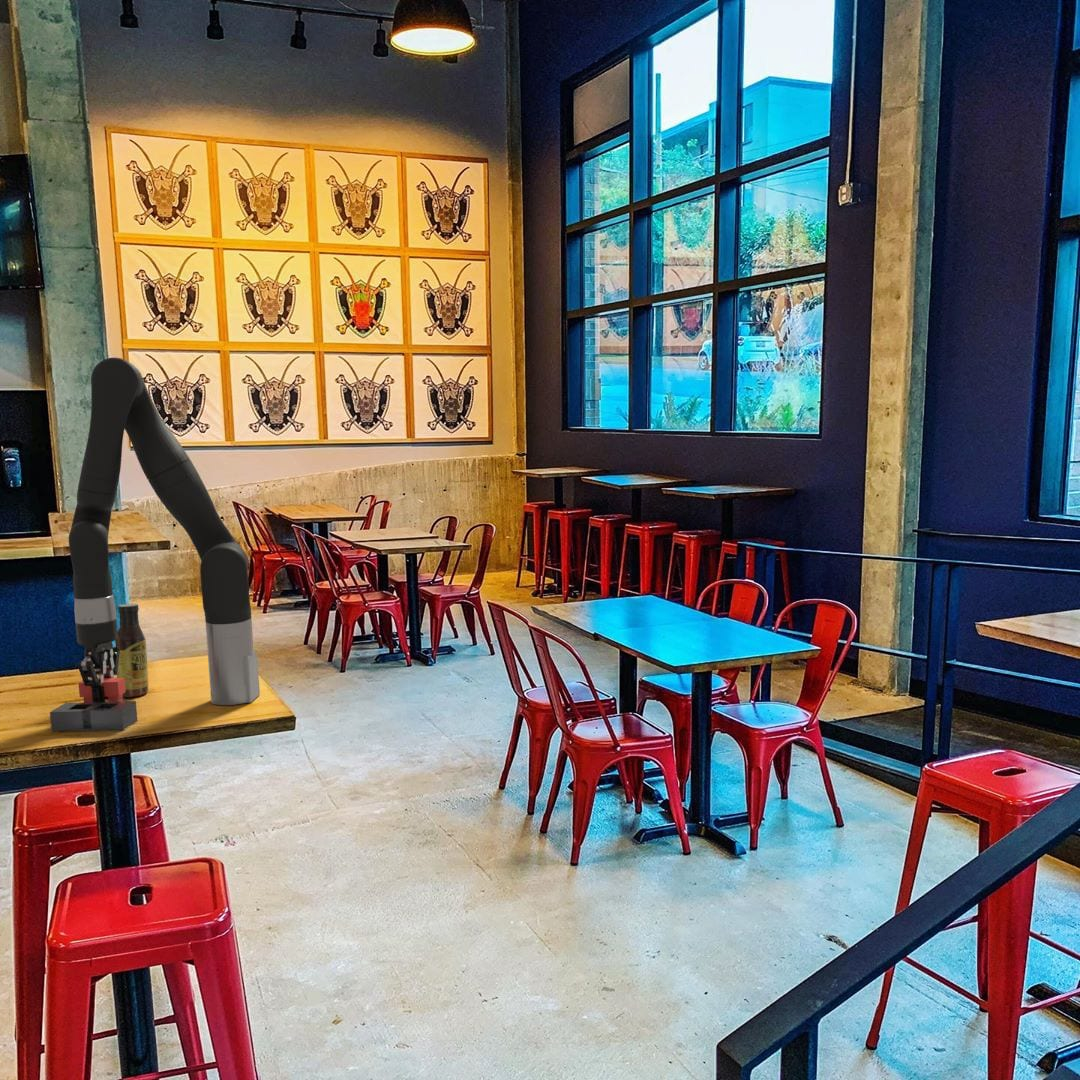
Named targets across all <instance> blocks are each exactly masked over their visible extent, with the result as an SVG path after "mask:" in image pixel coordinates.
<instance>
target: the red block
mask: <svg viewBox="0 0 1080 1080" xmlns="http://www.w3.org/2000/svg"><path fill="white" fill-rule="evenodd" d="M98 680H99V678H98ZM103 686H104V694H105V697H108V700H107V702H119V701H124V699H123V698H124V697H122V694H123V693H125V692H126V691H125V679H124V678H117V677H114V678H104V685H103ZM78 692H79V693H78V695H79V698H83V702H93V699H92V688H91V687H90V686H85V685H84V682H83V680H81V681H79V682H78Z"/></svg>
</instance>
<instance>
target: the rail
mask: <svg viewBox="0 0 1080 1080" xmlns="http://www.w3.org/2000/svg"><path fill="white" fill-rule="evenodd" d="M49 718H50V729H51V732H52V731H79V732H101V731H100V730H121V731H125V730H126V729H125V728H127V727H128V726H129V727H131V726H132V725H134V724H135V723H136V722H138V712H137V701H136V700H129V701H126V700H123V701H119V702H108V701H105V702H84V701H83V702H65V703H63V704H61V705H59V706H58V707H56V708H54V709H52V710H51V711H49ZM131 724H132V725H131ZM130 725H131V726H130ZM129 727H128V728H129ZM128 728H127V729H128ZM124 729H125V730H124Z"/></svg>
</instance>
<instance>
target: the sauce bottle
mask: <svg viewBox="0 0 1080 1080" xmlns="http://www.w3.org/2000/svg"><path fill="white" fill-rule="evenodd" d="M117 609H118V610H117V611H118V613H119V628H118V629H117V630H118V638H117V639H116V640H115V641H114V642H115V647H120V654H119V664H118V673H117V675H116V678H124V679H125V691H126V692H125V693H123V694H122V697H123V698H134V697H140V696H144V695H146V694H147V693H148V692H149V684H150V683H149V670H148V652H147V651H148V649H147V639H146V637H145V635H144V633H143V630H142V628H141V625H140V620H139V610H140V609H139V604H138V603H126V604H119V605H118V606H117Z"/></svg>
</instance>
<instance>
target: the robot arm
mask: <svg viewBox="0 0 1080 1080" xmlns="http://www.w3.org/2000/svg"><path fill="white" fill-rule="evenodd" d="M90 382H91V383H90V384H91V385H90V386H91V389H90V390H91V391H90V392H91V393H90V394H91V404H90V405H91V406H90V407H91V409H90V422H89V429H88V435H87V443H86V446H85V452H84V456H83V460H82V465H81V471H80V475H79V480H78V481H79V482H78V487H77V491H76V493H77V494H76V507H75V510H74V514H73V518H72V524H71V527H70V531H69V533H68V548H69V554H70V560H71V565H72V566H71V567H72V571H73V574H72V575H73V576H72V585H73V593H74V609H73V611H74V621H75V623H74V624H75V631H76V632H75V633H76V642H77V643H78V644H79V645H82V646H84V653H83V654H84V655H83V656H84V659H83V660H78V661H77V663H76V665H77V668H78V671H79V674H80V677H81V679H82V681H83V682H84V685H85V686H90V687H91V688H92V699H93V702H106V700H107V701H108V697H105V694H104V686H103V685H104V678H115V676H117V673H118V664H119V654H120V647H116V646H114V645H113V642H115V640H116V639H117V638H118V630H119V629H118V620H117V619H118V618H117V610H116V602H115V597H114V591H113V581H112V573H111V570H110V563H109V562H110V559H109V557H110V556H109V554H110V553H109V533H110V532H109V531H110V527H111V526H110V525H111V516H112V510H113V506H114V504H115V501H116V497H117V492H118V487H119V482H120V474H121V469H122V468H121V467H122V455H123V442H124V434H125V432H126V434H127V436H128V438H129V440H130V442H131V445H132V447H133V450H134V453H135V456H136V458H137V460H138V463H139V466H140V468H141V470H142V471H143V473H144V476H145V477H146V479H147V481H148V484H150V486H151V488H152V489H153V491H154V493H155V495H156V496H157V498H158V499H159V500H160V502H161V504H163V506H164V507H165V508H166V510H167V511H168V512H169V514H170V515H172V517H173V518H174V519H175V520H176V521H177V522H178V523H179V525H180V526H181V527H182V528H183V529H184V531H185V532H186V533H187V535H188V537H189V538H190V540H191V542H192V544H193V546H194V547H195V550H196V552H197V554H198V556H199V559H200V561H201V562H200V566H199V567H200V568H199V571H200V587H201V588H200V589H201V597H202V607H203V612H204V618H205V620H204V622H205V632H206V634H205V635H206V648H207V650H206V651H207V659H208V660H207V661H208V675H209V688H210V692H209V693H210V698H211V699H210V701H211V703H212V704H213V705H218V706H235V705H241V704H242V705H243V704H247V703H248V704H249V703H252V702H254V701H255V700H256V699H257V698H258V697H259V696H260V695H261V694H260V691H261V690H260V677H259V676H260V675H259V663H258V662H259V661H258V660H259V659H258V652H257V651H255V649H254V635H253V633H254V632H253V620H252V619H253V618H252V606H251V598H250V586H249V573H248V572H249V571H248V570H249V559H248V556H247V554H246V552H245V550H244V549H243V548H242V546H241V545H240V544H239V542H238V541H237V540H236V539H235V537H234V536H233V535H232V533H231V532H230V531H229V529H228V528H227V526H226V525H225V524H224V522H223V520H222V519H221V517H220V514H219V513H218V511H217V510H216V507H215V505H214V502H213V500H212V498H211V495H210V493H209V492H208V490H207V488H206V485H205V484H204V482H203V479H202V478H201V476H200V474H199V472H198V470H197V468H196V466H195V465H194V463H193V462H192V460H191V458H190V457H189V455H188V454H187V452H186V451H185V449H184V448H183V446H182V444H181V443H180V442H179V440H178V439H177V438H176V437H175V434H174V433H173V432H172V431H171V429H170V428H169V427H168V426H167V425H166V423H165V421H164V420H163V419H162V417H161V415H160V413H159V411H158V410H157V407H156V406H155V404H154V401H153V399H152V397H151V395H150V393H149V390H148V388H147V386H146V384H145V380H144V377H143V375H142V373H141V371H139V369H138V368H137V367H136V366H135V365H134V364H133V363H131V362H130V361H128V360H126V359H123V358H121V357H108V358H104V359H103V360H100V362H98V363H97V364H96V365H95V367H94V368H93V370H92V371H91V375H90ZM98 679H99V680H98Z"/></svg>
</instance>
